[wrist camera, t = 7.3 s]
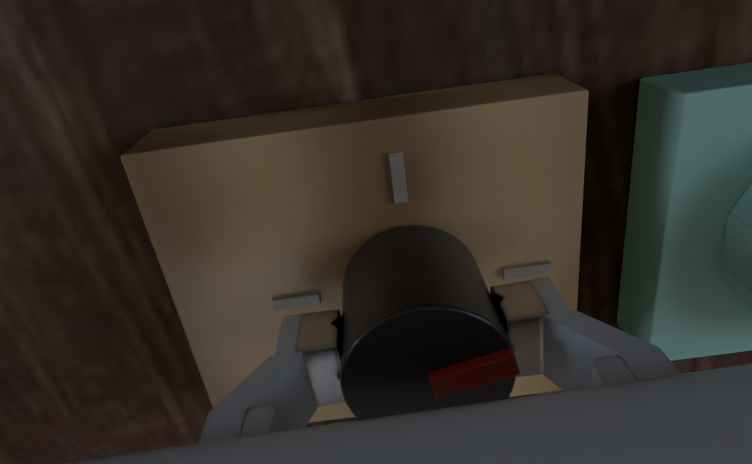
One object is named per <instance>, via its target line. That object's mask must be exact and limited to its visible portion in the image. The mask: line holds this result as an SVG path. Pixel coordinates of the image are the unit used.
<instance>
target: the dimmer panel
mask: <svg viewBox="0 0 752 464" xmlns="http://www.w3.org/2000/svg"><path fill="white" fill-rule="evenodd" d="M588 94H589V92H588V90H587V89H585V88H583V87H581V86H579V85H577V84H575V83H573V82H571V81H569V80H567V79H565V78H563V77H561V76H559V75H557V74H554V73H551V74H544V75H537V76H530V77H523V78H516V79H509V80H501V81H494V82H487V83H480V84H473V85H466V86H459V87H452V88H445V89H438V90H431V91H424V92H417V93H409V94H402V95H395V96H388V97H381V98H374V99H367V100H360V101H353V102H346V103H339V104H332V105H324V106H317V107H310V108H303V109H296V110H289V111H282V112H275V113H268V114H261V115H254V116H247V117H240V118H232V119H225V120H218V121H211V122H204V123H197V124H190V125H183V126H176V127H169V128H162V129H155V130H152V131H151V132H150V133H149V134H147V135H146V136H145V137H144V138H142V139H141V140H140V141H138V142H137V143H136V144H135V145H133V146H132V147H131V148H130V149H128V150H127V151H126V152H124V153H123V154H122V155H121V161H122V164H123V166H124V169H125V172H126V174H127V177H128V180H129V182H130V185H131V188H132V191H133V193H134V196H135V199H136V201H137V204H138V207H139V210H140V212H141V215H142V218H143V220H144V223H145V226H146V228H147V231H148V234H149V237H150V239H151V242H152V245H153V247H154V250H155V253H156V256H157V258H158V261H159V264H160V266H161V269H162V272H163V274H164V277H165V280H166V283H167V285H168V288H169V291H170V293H171V296H172V299H173V302H174V304H175V307H176V310H177V312H178V315H179V318H180V320H181V323H182V326H183V329H184V331H185V334H186V337H187V339H188V342H189V345H190V348H191V350H192V353H193V356H194V358H195V361H196V364H197V366H198V369H199V372H200V375H201V377H202V380H203V383H204V385H205V388H206V391H207V394H208V396H209V399H210V402H211V404H212V407H213V408H215V407H216V406H217V405H218V404H219V403H220V402H221V401H222V400H223V399H224V398H225V397H226V396H227V395H228V394H230V393H231V392H232V391H233V390H234V389H235V388H236V387H237V386H238V385H239V384H240V383H241V382H242V381H243V380H245V379H246V378H247V377H248V376H249V375H250V374H251V373H252V372H253V371H254V370H255V369H256V368H257V367H258V366H260V365H261V364H262V363H263V362H264V361H265V360H266V359H267V358H268V357H269V356H274V355H275V352H276V347H277V342H278V337H279V332H280V327H281V322H282V319H283V318H284V317H285V316H290V315H297V314H304V313H312V312H319V311H327V310H335V309H339V310H340V312H341V316H342V297H343V279H344V275H345V271H346V268H347V266H348V264H349V262H350V260H351V259H352V257H353V255H354V254H355V253H356V252H357V250H358V249H359V248H360V247H361V246H362V245H364V244H365V243H366V242H367V241H369V240H370V239H371V238H373V237H374V236H376V235H378V234H380V233H382V232H384V231H387V230H389V229H393V228H397V227H402V226H412V225H419V226H428V227H433V228H437V229H439V230H442V231H445V232H447V233H449V234H451V235H453V236H454V237H456V238H457V239H459V240H460V241H461V242H462V243H463V244H464V245H465V246H466V247H467V248H468V249H469V250H470V252H471V253H472V255H473V257H474V258H475V261H476V263H477V265H478V268H479V270H480V272H481V275H482V277H483V279H484V282H485V284H486V286H487V289H488V291H489V293H490V287H491V286H497V285H502V284H508V283H514V282H520V281H526V280H530V279H535V278H541V277H546V276H547V277H549V278H550V279H551V281H552V283H553V284H554V286H555V287H556V289H557V290H558V292H559V293H560V295H561V296H562V298H563V300H564V301H565V303H566V304H567V306H568V307H569V309H570V310H571V311H576V310H577V299H578V281H579V262H580V243H581V225H582V206H583V187H584V169H585V150H586V131H587V113H588ZM560 390H562V389H561V388H560V387H558V386H557V385H556V384H554V383H553V382H552V381H550V380H549V379H548V378H546V377H545V376H544V374H541V375H532V376H524V377H516V379H515V383H514V387H513V390H512V392H511V394H510V396H509V397H513V396H521V395H529V394H537V393H544V392H552V391H560ZM317 408H318V409H317V410H316V412H315V413H314V415H313V416H312V418H311V419H310V421H309V422H308V423H310V422H318V421H325V420H333V419H341V418H349V417H355V415H354V414H353V413H352V412H351V410H350V409H349V407H348V405H347V404H346V402H343V403H337V404H331V405H326V406H320V407H317Z"/></svg>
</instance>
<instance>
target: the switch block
mask: <svg viewBox="0 0 752 464" xmlns="http://www.w3.org/2000/svg"><path fill="white" fill-rule="evenodd" d="M617 324H618V326H619V327H620V328H621V330H622V331H623V332H626V333H628V334H630V335H632V336H635V337H637V338H639V339H641V340H644V341H646V342H648V343H650V344H652V345H655V346H657V347H659V348H661V350H662V351H663V352H664V353H665V355H666V356H667V357H668V358H669V360H670V361H672V360H680V359H688V358H696V357H704V356H711V355H719V354H727V353H735V352H742V351H750V350H752V63H744V64H737V65H730V66H723V67H716V68H709V69H702V70H695V71H687V72H680V73H673V74H666V75H659V76H652V77H645V78H641V79H640V85H639V96H638V106H637V116H636V127H635V137H634V147H633V158H632V168H631V178H630V189H629V199H628V209H627V220H626V230H625V240H624V251H623V261H622V271H621V282H620V292H619V302H618V313H617Z"/></svg>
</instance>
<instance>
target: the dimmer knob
mask: <svg viewBox="0 0 752 464" xmlns="http://www.w3.org/2000/svg"><path fill="white" fill-rule="evenodd" d="M518 374H520V371H519V367H518V364H517V361H516V357H515V352H514V350H513V347H512V345H511V342H510V340H509V338H508V335H507V333H506V331H505V328H504V326H503V324H502V321H501V319H500V317H499V314H498V312H497V310H496V307H495V305H494V303H493V300H492V298H491V296H490V293H489V291H488V289H487V286H486V284H485V282H484V279H483V277H482V275H481V272H480V270H479V268H478V265H477V263H476V261H475V258H474V257H473V255H472V253H471V252H470V250H469V249H468V248H467V247H466V246H465V245H464V244H463V243H462V242H461V241H460V240H459V239H457V238H456V237H454V236H453V235H451V234H449V233H447V232H445V231H442V230H439V229H437V228H433V227H428V226H419V225H412V226H402V227H397V228H393V229H389V230H387V231H384V232H382V233H380V234H378V235H376V236H374V237H373V238H371V239H370V240H369V241H367V242H366V243H365V244H364V245H362V246H361V247H360V248H359V249H358V250H357V252H356V253H355V254H354V255H353V257H352V259H351V260H350V262H349V264H348V266H347V268H346V271H345V275H344V279H343V297H342V330H341V363H340V384H341V390H342V394H343V397H344V399H345V402H346V404H347V405H348V407H349V409H350V410H351V412H352V413H353V414H354V415H355V417H356V418H357V419H358V420H364V419H371V418H378V417H385V416H392V415H399V414H406V413H413V412H420V411H427V410H434V409H441V408H448V407H455V406H462V405H469V404H476V403H482V402H489V401H496V400H503V399H508V398H509V396H510V394H511V392H512V390H513V387H514V383H515V379H516V375H518Z"/></svg>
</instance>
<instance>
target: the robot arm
mask: <svg viewBox="0 0 752 464" xmlns="http://www.w3.org/2000/svg"><path fill="white" fill-rule="evenodd" d="M490 296H491V298H492V300H493V303H494V305H495V307H496V310H497V312H498V314H499V317H500V319H501V321H502V324H503V326H504V328H505V331H506V333H507V335H508V338H509V340H510V342H511V345H512V347H513V350H514V352H515V357H516V361H517V364H518V367H519V371H520V374H518V375H516V377H524V376H532V375H541V374H544V376H545V377H546V378H548V379H549V380H550V381H552V382H553V383H554V384H556V385H557V386H558V387H560V388H561V389H562V390H564V391H559V392H552V393H545V394H538V395H531V396H524V397H517V398H510V399H503V400H496V401H489V402H482V403H476V404H469V405H462V406H455V407H448V408H441V409H434V410H427V411H420V412H413V413H406V414H399V415H392V416H385V417H378V418H371V419H364V420H357V421H350V422H343V423H336V424H329V425H322V426H315V427H308V428H305V426H306V425H307V424H308V422H309V421H310V419H311V418H312V416H313V415H314V413H315V412H316V410H317V409H318V408H317V407H320V406H326V405H331V404H337V403H343V402H345V399H344V397H343V394H342V390H341V384H340V363H341V330H342V316H341V312H340V310H339V309H335V310H327V311H319V312H312V313H304V314H297V315H290V316H285V317H284V318H283V319H282V322H281V327H280V332H279V337H278V342H277V347H276V352H275V355H274V356H269V357H268V358H267V359H266V360H265V361H264V362H263V363H262V364H261V365H260V366H258V367H257V368H256V369H255V370H254V371H253V372H252V373H251V374H250V375H249V376H248V377H247V378H246V379H245V380H243V381H242V382H241V383H240V384H239V385H238V386H237V387H236V388H235V389H234V390H233V391H232V392H231V393H230V394H228V395H227V396H226V397H225V398H224V399H223V400H222V401H221V402H220V403H219V404H218V405H217V406H216V407H215V408H213V409H212V410H211V411H210V412H209V413H208V416H207V419H206V422H205V425H204V428H203V431H202V434H201V437H200V440H199V443H197V444H190V445H183V446H176V447H169V448H162V449H155V450H148V451H141V452H134V453H127V454H120V455H113V456H106V457H99V458H92V459H85V460H79V461H72V462H65V463H58V464H752V364H748V365H741V366H734V367H726V368H719V369H712V370H705V371H698V372H691V373H684V374H681V373H680V372H679V371H678V370H677V368H676V367H675V366H674V365H673V363H672V362H671V361H670V360H669V358H668V357H667V356H666V355H665V353H664V352H663V351H662V350H661V348H659V347H657V346H655V345H652V344H650V343H648V342H646V341H644V340H641V339H639V338H637V337H635V336H632V335H630V334H628V333H626V332H623V331H621V330H619V329H617V328H615V327H612V326H610V325H608V324H606V323H603V322H601V321H599V320H597V319H594V318H592V317H590V316H588V315H586V314H583V313H581V312H579V311H577V310H576V311H571V310H570V309H569V307H568V306H567V304H566V303H565V301H564V300H563V298H562V296H561V295H560V293H559V292H558V290H557V289H556V287H555V286H554V284H553V283H552V281H551V279H550V278H549V277H547V276H546V277H541V278H535V279H530V280H526V281H520V282H514V283H508V284H502V285H497V286H491V287H490Z"/></svg>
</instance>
